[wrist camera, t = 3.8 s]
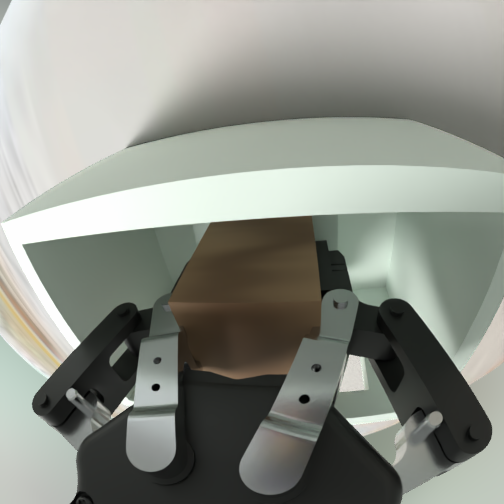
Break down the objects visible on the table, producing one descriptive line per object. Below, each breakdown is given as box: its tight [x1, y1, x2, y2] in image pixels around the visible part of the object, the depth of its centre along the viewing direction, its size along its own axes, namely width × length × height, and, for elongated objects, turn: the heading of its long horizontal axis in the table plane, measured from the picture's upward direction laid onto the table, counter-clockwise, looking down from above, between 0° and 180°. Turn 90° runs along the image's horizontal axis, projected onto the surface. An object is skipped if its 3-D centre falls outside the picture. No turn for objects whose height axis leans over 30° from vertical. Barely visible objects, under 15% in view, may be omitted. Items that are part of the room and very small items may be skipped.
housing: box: [1, 117, 504, 425], centre depth 13 cm, size 17×12×10 cm
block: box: [168, 215, 322, 379], centre depth 11 cm, size 4×4×6 cm
